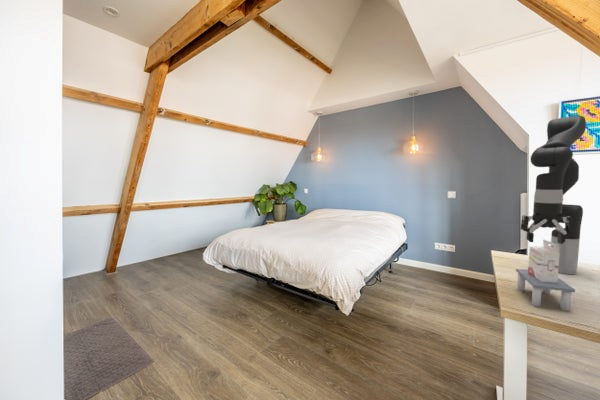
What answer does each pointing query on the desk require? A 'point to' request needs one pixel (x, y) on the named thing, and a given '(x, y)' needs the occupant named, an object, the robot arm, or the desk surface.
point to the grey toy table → (545, 289)
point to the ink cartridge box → (544, 262)
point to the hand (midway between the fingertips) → (545, 242)
